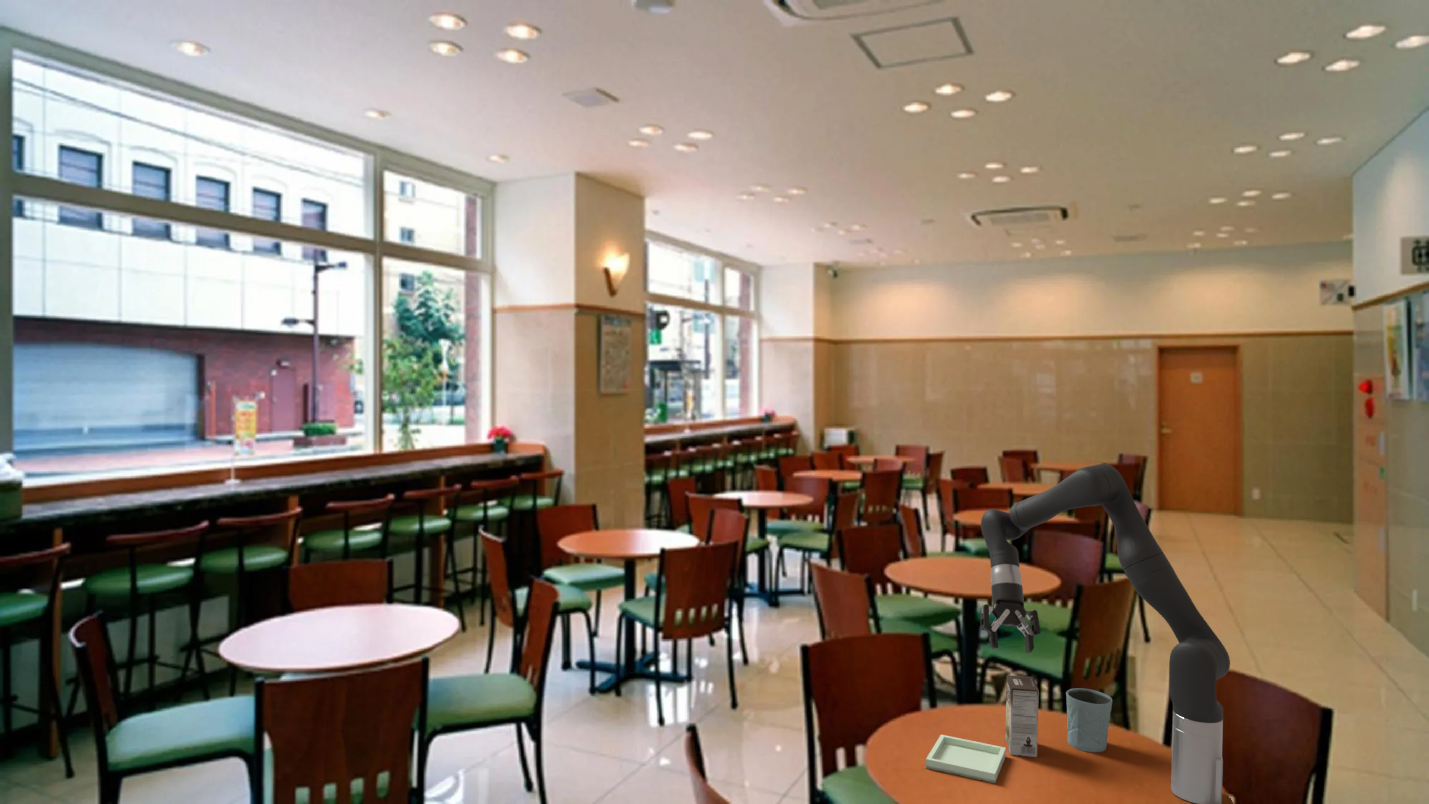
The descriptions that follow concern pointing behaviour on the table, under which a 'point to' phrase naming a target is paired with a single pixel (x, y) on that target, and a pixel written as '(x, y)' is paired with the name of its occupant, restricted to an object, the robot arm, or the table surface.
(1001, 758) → the tray
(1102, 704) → the blue-grey cup
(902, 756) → the table surface
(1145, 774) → the table surface
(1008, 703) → the coffee box
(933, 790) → the table surface
